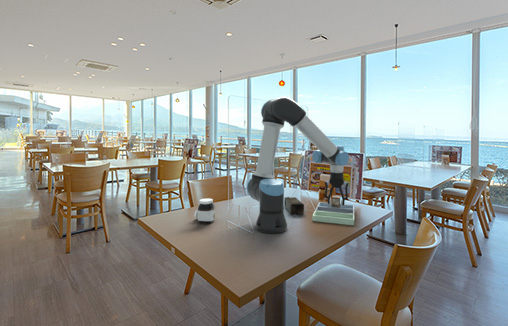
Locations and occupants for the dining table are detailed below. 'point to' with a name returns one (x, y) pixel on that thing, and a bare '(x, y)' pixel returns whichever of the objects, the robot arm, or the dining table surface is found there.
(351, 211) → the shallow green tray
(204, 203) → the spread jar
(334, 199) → the letter block
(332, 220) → the pale green tray
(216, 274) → the dining table surface
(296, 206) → the beverage carton
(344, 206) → the grey tray
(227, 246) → the dining table surface
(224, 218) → the dining table surface
